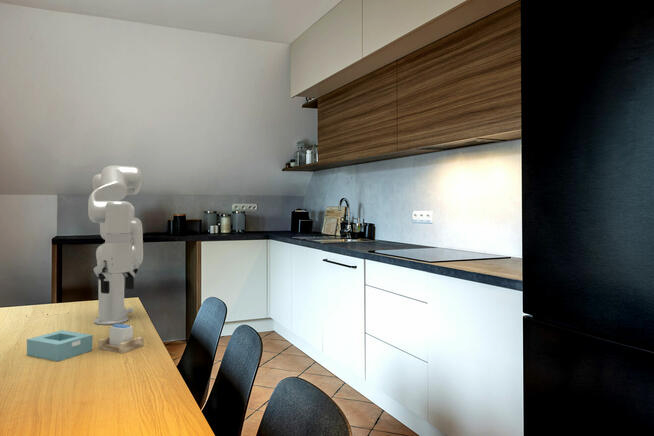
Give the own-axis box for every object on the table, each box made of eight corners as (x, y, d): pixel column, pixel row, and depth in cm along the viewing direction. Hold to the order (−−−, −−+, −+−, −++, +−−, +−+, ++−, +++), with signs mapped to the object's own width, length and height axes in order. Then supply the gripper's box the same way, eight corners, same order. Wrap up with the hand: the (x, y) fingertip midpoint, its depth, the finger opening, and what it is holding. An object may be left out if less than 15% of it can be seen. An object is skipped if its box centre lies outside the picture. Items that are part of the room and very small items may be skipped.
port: (62, 345, 156) (62, 330, 156) (92, 350, 150) (92, 335, 150) (26, 355, 145) (26, 339, 145) (58, 361, 139) (58, 344, 139)
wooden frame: (120, 342, 159) (120, 333, 159) (143, 345, 156) (143, 337, 155) (98, 349, 151) (98, 340, 151) (121, 353, 147) (121, 344, 147)
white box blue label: (119, 345, 156) (119, 322, 156) (132, 347, 154) (132, 324, 154) (109, 348, 153) (109, 325, 153) (123, 350, 150) (123, 327, 150)
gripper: (130, 237, 162) (130, 286, 162) (86, 239, 146) (86, 294, 146) (146, 238, 159) (146, 288, 159) (103, 240, 143) (103, 296, 143)
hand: (117, 290), depth 153 cm, fingers open, 9 cm apart
